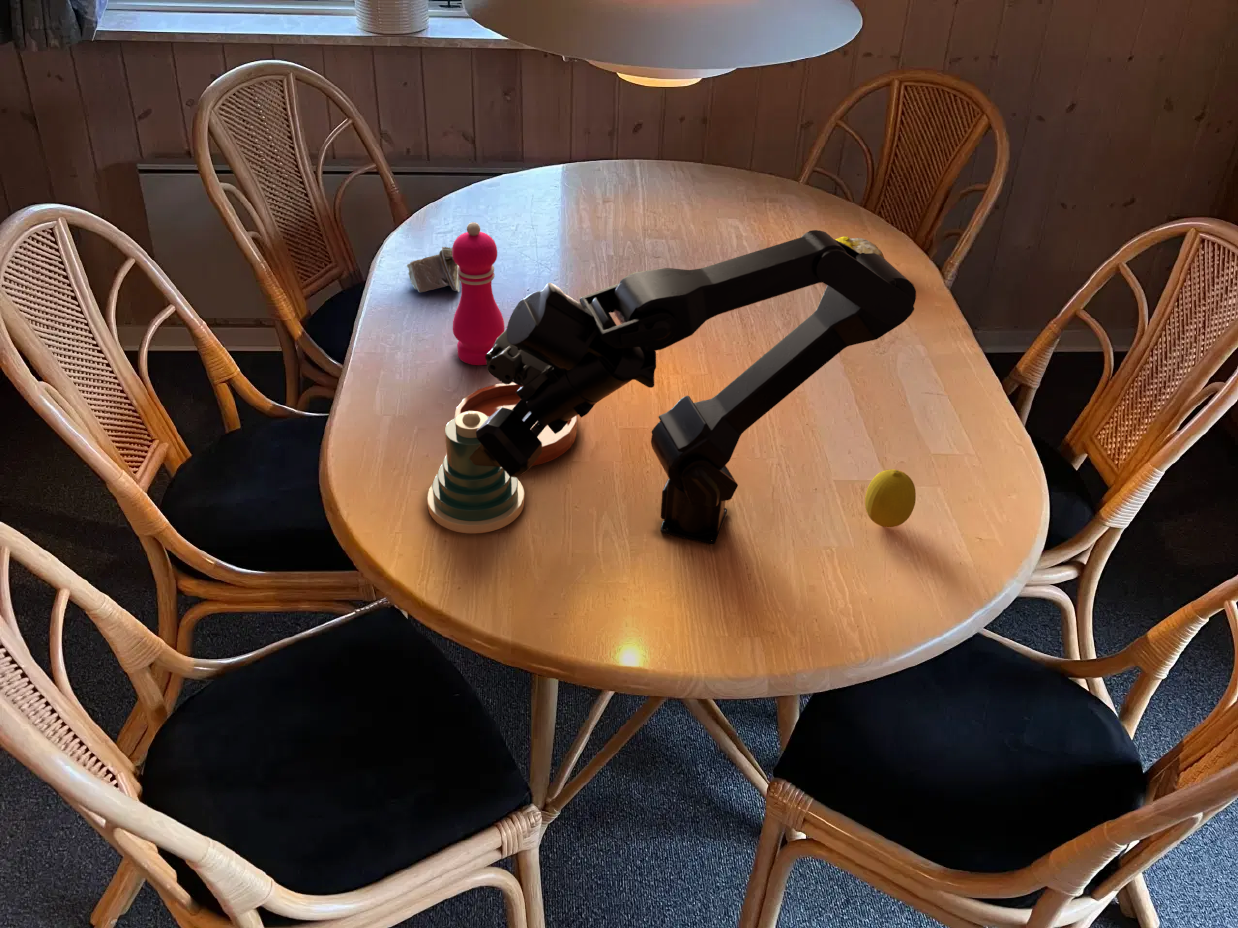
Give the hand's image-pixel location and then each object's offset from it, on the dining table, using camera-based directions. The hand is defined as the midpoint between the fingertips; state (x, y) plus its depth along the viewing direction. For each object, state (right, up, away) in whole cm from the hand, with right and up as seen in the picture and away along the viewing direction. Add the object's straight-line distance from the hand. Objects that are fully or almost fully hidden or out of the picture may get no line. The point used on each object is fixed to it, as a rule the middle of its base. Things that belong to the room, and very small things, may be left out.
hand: (492, 438), depth 116 cm
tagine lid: (-3, -7, +7) cm, 10 cm away
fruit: (+52, +28, +57) cm, 82 cm away
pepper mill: (-6, +13, +34) cm, 36 cm away
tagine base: (+1, +1, +19) cm, 19 cm away
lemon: (+45, -10, +6) cm, 46 cm away
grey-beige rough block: (-15, +40, +58) cm, 72 cm away
